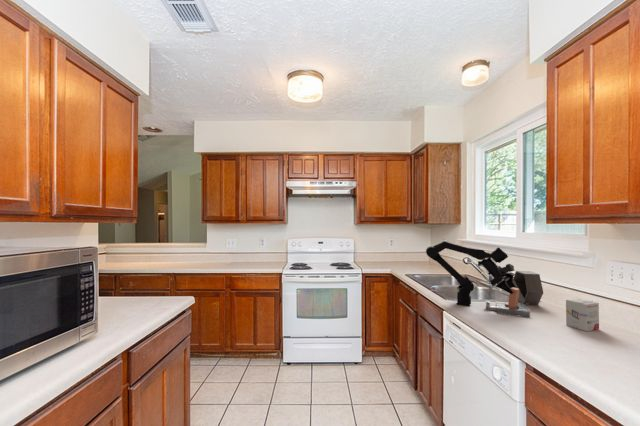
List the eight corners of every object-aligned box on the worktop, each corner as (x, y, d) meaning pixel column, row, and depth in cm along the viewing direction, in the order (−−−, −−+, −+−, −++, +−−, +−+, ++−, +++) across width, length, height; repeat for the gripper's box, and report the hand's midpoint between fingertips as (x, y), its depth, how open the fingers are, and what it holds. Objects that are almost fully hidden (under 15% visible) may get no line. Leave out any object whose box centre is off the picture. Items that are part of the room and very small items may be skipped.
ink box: (578, 323, 144) (578, 297, 144) (599, 329, 136) (599, 302, 136) (565, 325, 142) (565, 299, 142) (586, 331, 134) (586, 304, 134)
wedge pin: (507, 310, 161) (510, 288, 160) (510, 309, 164) (512, 287, 163) (513, 312, 159) (516, 289, 158) (516, 311, 162) (519, 288, 161)
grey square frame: (496, 312, 159) (496, 307, 159) (495, 306, 171) (495, 301, 171) (529, 317, 152) (529, 312, 152) (526, 309, 165) (526, 305, 165)
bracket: (485, 309, 164) (485, 301, 164) (485, 308, 166) (485, 300, 166) (496, 310, 162) (496, 303, 162) (496, 309, 164) (496, 302, 164)
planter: (509, 288, 192) (518, 263, 181) (523, 289, 191) (532, 264, 180) (520, 310, 178) (531, 284, 167) (535, 311, 177) (546, 285, 166)
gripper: (496, 260, 159) (521, 285, 150) (510, 257, 171) (533, 280, 162) (480, 273, 165) (503, 298, 156) (494, 269, 177) (516, 293, 168)
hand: (514, 292), depth 161 cm, fingers open, 7 cm apart
